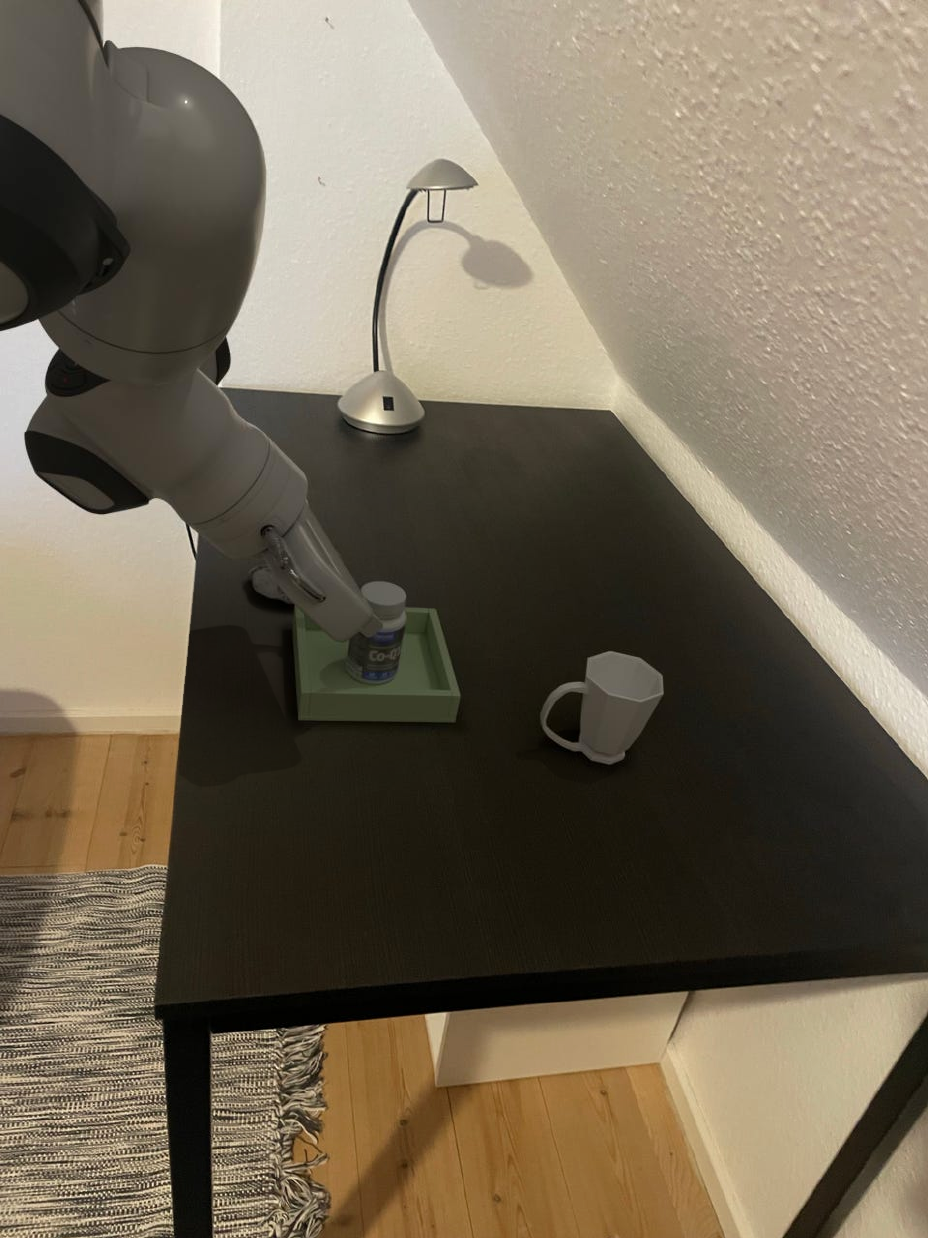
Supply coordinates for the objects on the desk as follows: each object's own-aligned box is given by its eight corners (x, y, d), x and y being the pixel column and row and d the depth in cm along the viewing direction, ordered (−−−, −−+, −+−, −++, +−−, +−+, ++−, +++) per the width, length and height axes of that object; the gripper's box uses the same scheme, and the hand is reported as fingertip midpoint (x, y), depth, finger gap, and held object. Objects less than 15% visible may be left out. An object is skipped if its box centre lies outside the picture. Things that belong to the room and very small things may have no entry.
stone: (255, 614, 91) (257, 591, 90) (245, 574, 97) (246, 551, 95) (352, 611, 94) (355, 589, 93) (337, 572, 100) (339, 551, 99)
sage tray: (298, 720, 79) (301, 692, 78) (292, 628, 90) (294, 601, 89) (455, 722, 83) (461, 696, 81) (431, 633, 94) (435, 608, 92)
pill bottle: (367, 692, 83) (379, 613, 79) (335, 664, 86) (344, 586, 81) (408, 675, 86) (421, 598, 82) (375, 649, 89) (387, 573, 84)
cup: (652, 773, 82) (680, 700, 77) (544, 778, 79) (566, 702, 74) (622, 720, 87) (646, 650, 83) (520, 723, 84) (540, 650, 80)
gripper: (321, 540, 64) (429, 642, 74) (247, 418, 79) (345, 516, 88) (252, 601, 64) (368, 694, 74) (191, 468, 79) (295, 560, 89)
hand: (355, 596), depth 81 cm, fingers open, 8 cm apart
